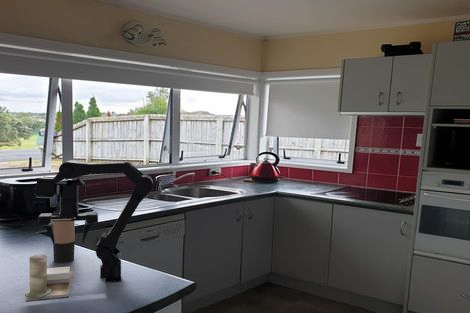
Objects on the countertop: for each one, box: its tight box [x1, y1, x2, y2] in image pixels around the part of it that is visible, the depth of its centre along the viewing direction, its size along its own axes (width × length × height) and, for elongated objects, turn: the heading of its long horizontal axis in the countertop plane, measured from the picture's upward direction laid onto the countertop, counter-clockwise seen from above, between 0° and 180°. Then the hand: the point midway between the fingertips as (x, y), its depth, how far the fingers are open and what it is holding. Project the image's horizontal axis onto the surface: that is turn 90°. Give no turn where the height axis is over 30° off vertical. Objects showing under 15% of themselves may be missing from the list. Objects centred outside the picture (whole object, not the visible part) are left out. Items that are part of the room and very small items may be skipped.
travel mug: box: [52, 210, 76, 264], centre depth 157 cm, size 8×8×20 cm
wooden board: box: [25, 269, 74, 303], centre depth 135 cm, size 13×22×2 cm, turn 18°
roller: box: [29, 254, 48, 295], centre depth 127 cm, size 5×5×11 cm
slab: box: [47, 266, 71, 285], centre depth 135 cm, size 9×6×4 cm, turn 108°
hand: (68, 243), depth 139 cm, fingers open, 9 cm apart
